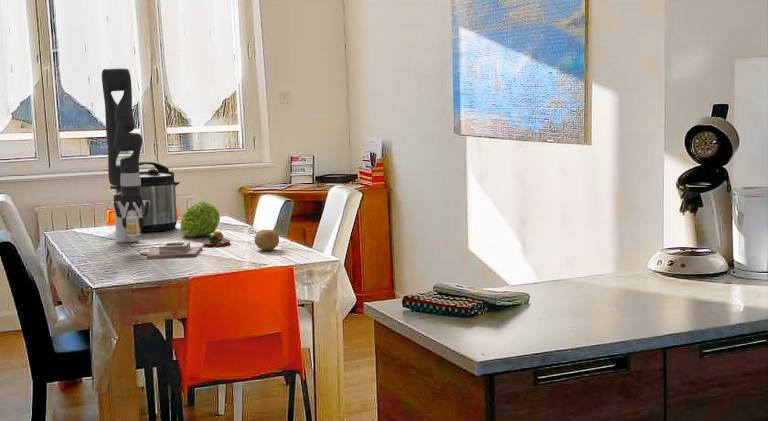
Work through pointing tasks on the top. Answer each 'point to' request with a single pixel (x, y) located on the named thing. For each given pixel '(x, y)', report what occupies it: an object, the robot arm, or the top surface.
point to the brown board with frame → (174, 251)
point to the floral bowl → (216, 240)
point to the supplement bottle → (133, 223)
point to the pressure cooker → (157, 197)
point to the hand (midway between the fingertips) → (133, 227)
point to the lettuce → (200, 220)
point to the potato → (266, 239)
